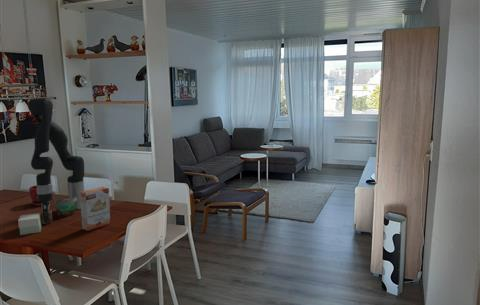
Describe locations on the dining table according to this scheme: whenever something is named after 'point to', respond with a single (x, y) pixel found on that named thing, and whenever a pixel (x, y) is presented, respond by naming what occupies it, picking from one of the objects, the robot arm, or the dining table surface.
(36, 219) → the tower top
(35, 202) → the plant pot
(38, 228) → the tower base
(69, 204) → the food container
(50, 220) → the walnut block
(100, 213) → the cracker box
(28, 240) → the dining table surface
